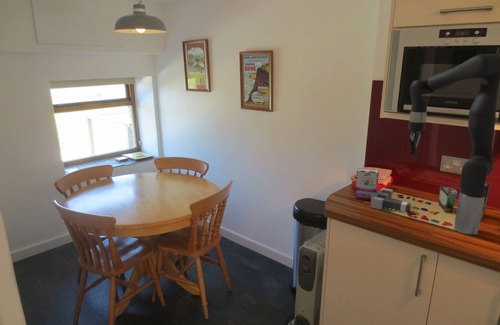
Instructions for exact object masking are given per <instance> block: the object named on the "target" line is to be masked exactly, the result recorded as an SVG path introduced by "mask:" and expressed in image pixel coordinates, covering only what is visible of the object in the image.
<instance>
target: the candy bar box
mask: <svg viewBox="0 0 500 325" xmlns="http://www.w3.org/2000/svg"><path fill="white" fill-rule="evenodd" d="M379 176H380V175H379V169H369V168H360V167H359V168H357V170H356V181H355V183H356V184H355V193H354V194H355V195H354V198H355V199H359V200H365V201H366V200H367V201H371V196H372V195H373V194H374V193H375V192H376V191H378V186H379V185H378V184H379Z"/></svg>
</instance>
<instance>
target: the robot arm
mask: <svg viewBox="0 0 500 325" xmlns="http://www.w3.org/2000/svg"><path fill="white" fill-rule="evenodd" d="M475 78H476V79H480V81H479V82H480V83H479V90H478V93H477V94H476V97H475V99H474V101H473V103H472V104H471V106H470V108H469V111H468V122H467V123H468V124H467V128H468V133H469V136H470V141H471V154H470V159H469V160H466V161H465V162H464V163H463V165H462V168H461V172H460V177H459V178H460V180H459V188H460V190H459V195H458V201H457V206H456V207H457V208H456V212H455V217H454V224H453V229H454V230H455V231H457V232H459V233H462V234H465V235H470V236H471V235H475V236H478V234H479V230H480V225H481V224H480V223H481V220H482V219H481V215H482V209H483V204H484V199H485V195H486V189H485V182H486V180H487V177H488V176H489V175H491V173H492V171H493V169H494V165H493V164H494V162H493V142H494V135H495V126H496V116H497V102H498V93H499V92H498V91H499V86H500V56H499V55H498V54H496V53H483V54H482V53H481V54H477V55H474V56H473V57H471V58H469V59H467V60H465V61H464V62H462V63H461V64H458V65H456V66H455V67H452V68H450V69H447V70H445V71H442V72H439V73H436V74H433V75H431V76H430V77H429V78H428V79H416V80H413V81H412V83H411V84H410V88H409V94H410V99H411V109H410V112H409V118H408V120H409V121H408V126H407V128H408V130H409V131H411V133H410V137H409V145H410V147H411V148H410V155H416V153H417V147H418V145H419V142H420V139H421V132H424V131H425V130H426V122H427V109H428V100H426V99H423V95H430V94H432V93H435V92H436V91H438V90H442V89H445V88H447V87H451V86H452V85H454V84H456V83H457V82H459V81H460V82H461V81H463V80H467V79H468V80H469V79H475ZM486 183H487V182H486Z"/></svg>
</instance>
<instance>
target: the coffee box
mask: <svg viewBox="0 0 500 325" xmlns="http://www.w3.org/2000/svg"><path fill="white" fill-rule="evenodd" d="M490 187H491V182H485V189H486V195H485V199H484V204H483V209H482V215H481V220H482V219H483V217H484V215H485V212H486V211H485V210H486V208H487V207H486V206H487V201H488V197H489V192H490Z"/></svg>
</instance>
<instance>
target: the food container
mask: <svg viewBox="0 0 500 325" xmlns="http://www.w3.org/2000/svg"><path fill="white" fill-rule="evenodd" d="M438 198H439V199H438V204H437V205H438V206H439V208H440V209H441V210H442V209H443V210H442V211H443V212H444V213H450V212H453V209H454V207H455V206H454V205H455V202H456V199H457V198H459V195H458V191H457V190H456V189H454V188H451V187H447V186H440V187H439V196H438Z"/></svg>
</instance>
